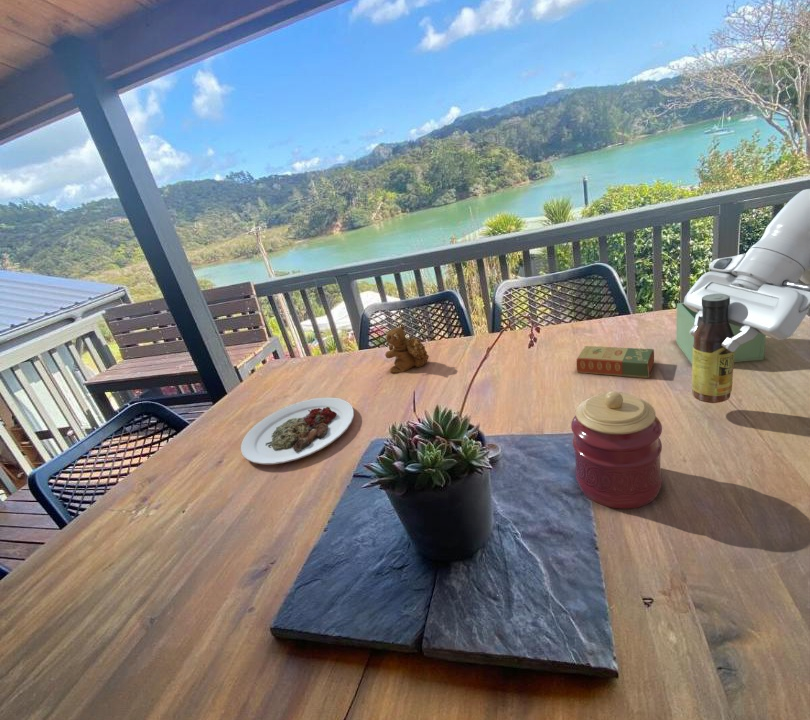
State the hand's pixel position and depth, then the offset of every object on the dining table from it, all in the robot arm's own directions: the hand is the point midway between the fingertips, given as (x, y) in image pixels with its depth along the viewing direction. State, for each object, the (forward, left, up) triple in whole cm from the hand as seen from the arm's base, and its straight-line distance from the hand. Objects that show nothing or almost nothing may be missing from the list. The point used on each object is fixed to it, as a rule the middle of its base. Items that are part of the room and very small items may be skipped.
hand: (709, 342), depth 79 cm
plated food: (+92, 0, -16) cm, 93 cm away
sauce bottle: (-1, 0, -12) cm, 12 cm away
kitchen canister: (+19, +20, -16) cm, 31 cm away
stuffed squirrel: (+70, -35, -16) cm, 80 cm away
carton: (+13, -22, -16) cm, 30 cm away
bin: (-10, -27, -15) cm, 33 cm away
